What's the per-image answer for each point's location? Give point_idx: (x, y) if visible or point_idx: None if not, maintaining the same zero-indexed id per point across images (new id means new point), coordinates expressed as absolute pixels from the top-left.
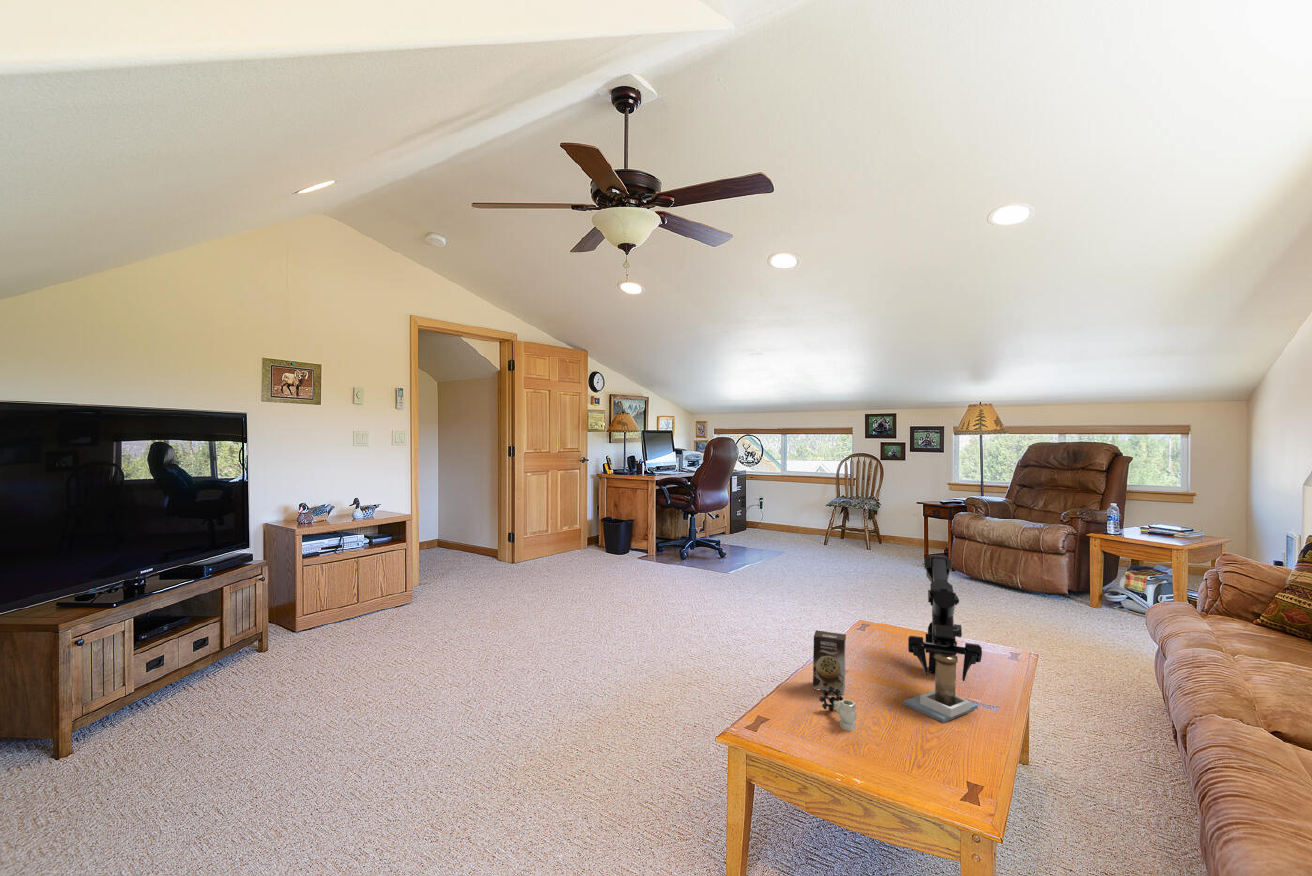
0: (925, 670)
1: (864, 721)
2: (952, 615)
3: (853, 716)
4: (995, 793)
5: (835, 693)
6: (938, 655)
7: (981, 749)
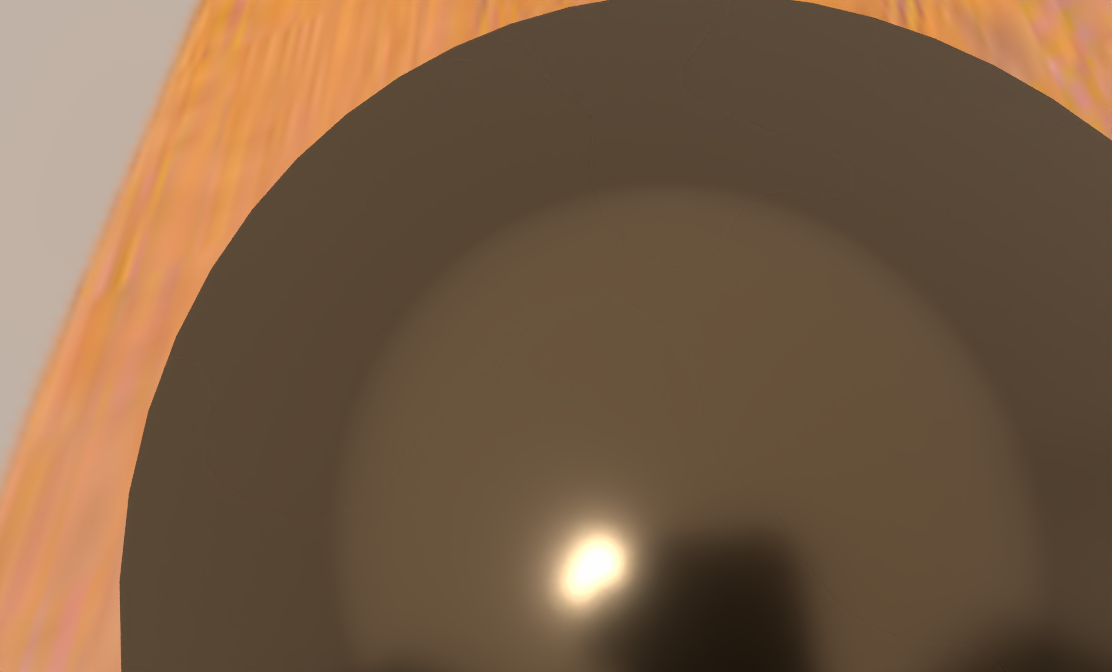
0: None
1: (1069, 36)
2: None
3: None
4: None
5: None
6: (1084, 326)
7: (349, 5)
